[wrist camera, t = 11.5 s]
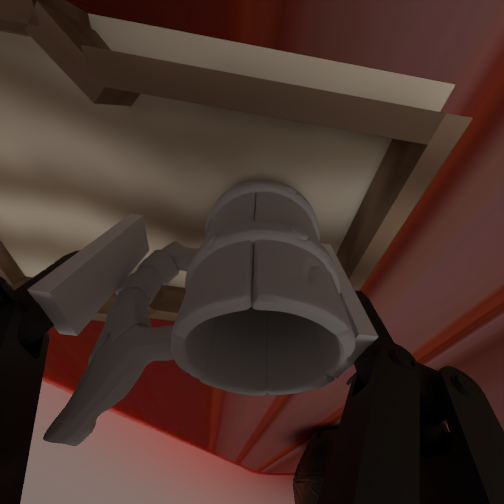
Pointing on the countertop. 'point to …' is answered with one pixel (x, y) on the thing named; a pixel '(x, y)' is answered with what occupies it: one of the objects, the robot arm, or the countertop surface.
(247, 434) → the countertop surface
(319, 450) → the bowl
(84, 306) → the robot arm
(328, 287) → the mug
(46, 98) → the rimmed tray
